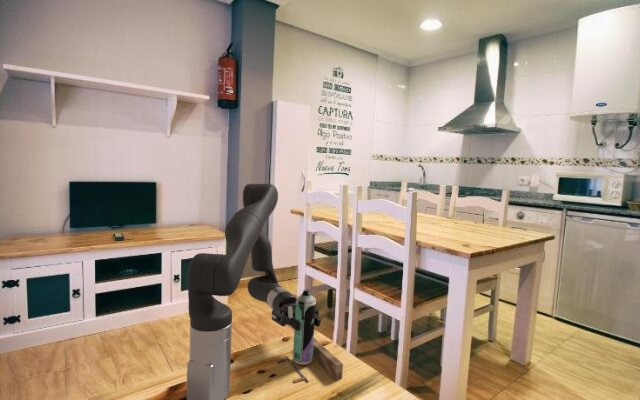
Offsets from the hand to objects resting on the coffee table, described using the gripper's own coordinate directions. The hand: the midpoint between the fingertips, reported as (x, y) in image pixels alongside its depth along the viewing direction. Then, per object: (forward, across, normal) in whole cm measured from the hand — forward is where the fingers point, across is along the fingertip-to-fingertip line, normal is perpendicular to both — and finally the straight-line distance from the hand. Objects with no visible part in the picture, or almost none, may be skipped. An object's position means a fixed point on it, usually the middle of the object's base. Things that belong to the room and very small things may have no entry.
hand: (309, 325), depth 95 cm
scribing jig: (0, 0, +12) cm, 12 cm away
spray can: (-3, 0, +11) cm, 11 cm away
